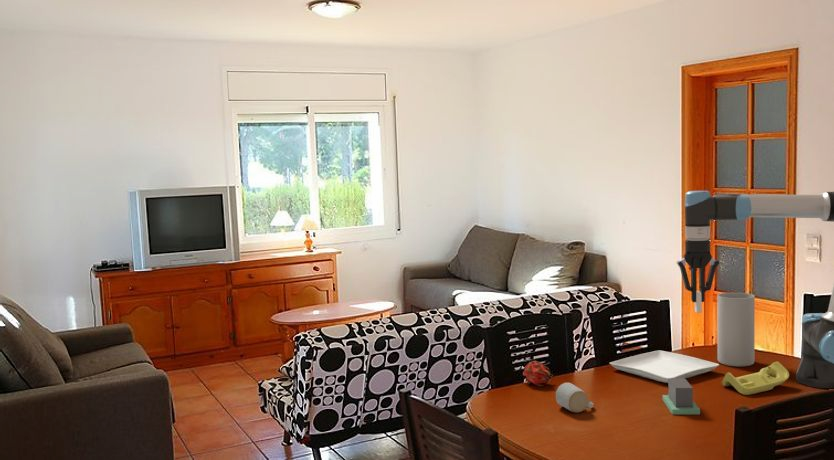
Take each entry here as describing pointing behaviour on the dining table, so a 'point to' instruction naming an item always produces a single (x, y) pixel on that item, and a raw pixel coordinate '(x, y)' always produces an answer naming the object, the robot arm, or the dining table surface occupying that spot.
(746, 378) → the plastic component
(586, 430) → the dining table surface
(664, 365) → the square plate
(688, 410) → the header board
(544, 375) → the dragon fruit
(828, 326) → the robot arm
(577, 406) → the ceramic mug
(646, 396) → the dining table surface
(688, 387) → the plug housing
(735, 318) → the cylinder vase
